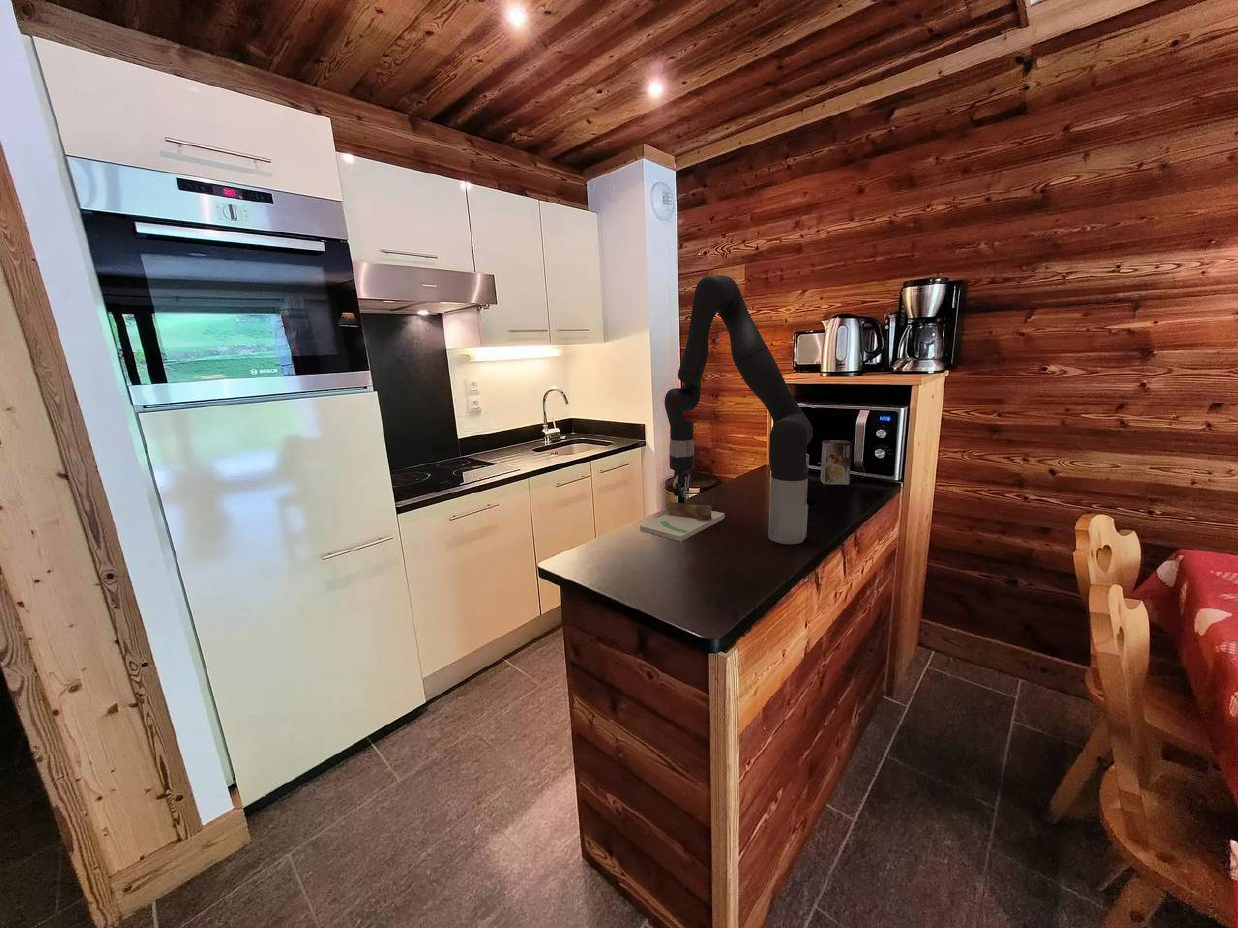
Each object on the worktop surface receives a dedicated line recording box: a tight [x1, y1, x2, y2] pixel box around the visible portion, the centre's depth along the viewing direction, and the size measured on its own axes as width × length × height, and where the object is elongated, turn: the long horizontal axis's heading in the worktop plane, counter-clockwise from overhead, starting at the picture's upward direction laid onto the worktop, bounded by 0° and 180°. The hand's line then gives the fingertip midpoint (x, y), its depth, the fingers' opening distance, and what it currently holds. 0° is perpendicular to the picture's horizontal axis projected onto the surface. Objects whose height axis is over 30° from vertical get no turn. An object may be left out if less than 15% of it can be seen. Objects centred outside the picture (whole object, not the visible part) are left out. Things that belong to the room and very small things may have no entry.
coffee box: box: [820, 439, 853, 486], centre depth 182 cm, size 9×6×16 cm
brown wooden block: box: [666, 501, 713, 520], centre depth 144 cm, size 14×4×4 cm, turn 62°
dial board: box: [639, 510, 725, 542], centre depth 143 cm, size 24×14×2 cm, turn 139°
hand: (681, 507), depth 151 cm, fingers closed
